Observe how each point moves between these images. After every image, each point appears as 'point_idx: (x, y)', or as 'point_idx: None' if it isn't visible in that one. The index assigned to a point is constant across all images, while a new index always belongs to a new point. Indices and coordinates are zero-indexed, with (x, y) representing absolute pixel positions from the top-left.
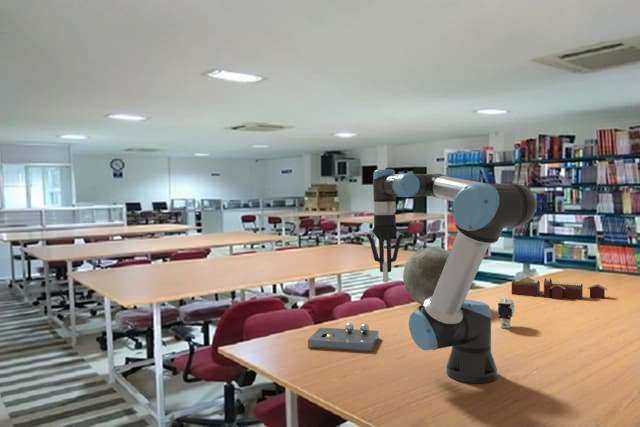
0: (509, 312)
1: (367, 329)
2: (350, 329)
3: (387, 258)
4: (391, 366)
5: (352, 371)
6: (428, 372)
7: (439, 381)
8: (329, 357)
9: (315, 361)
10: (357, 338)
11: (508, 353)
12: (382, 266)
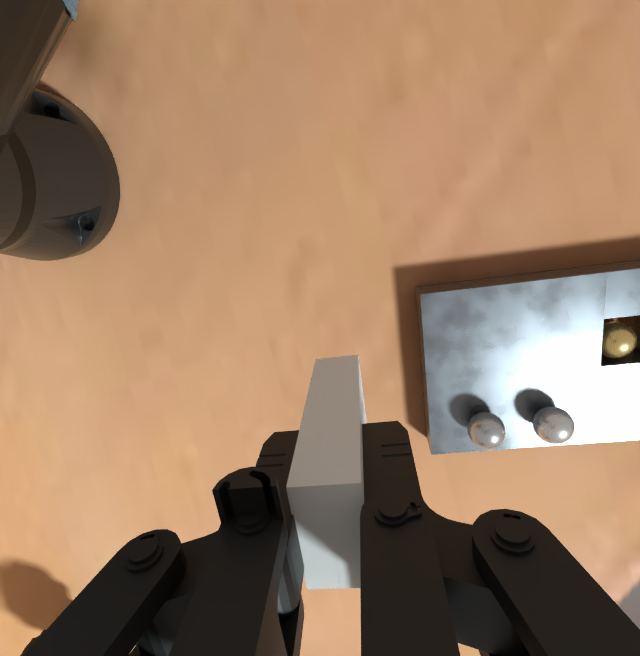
0: (25, 647)
1: (470, 422)
2: (543, 410)
3: (261, 568)
4: (305, 157)
5: (432, 40)
6: (170, 145)
7: (112, 68)
8: (566, 169)
9: (616, 97)
10: (492, 342)
11: (13, 406)
12: (373, 469)
